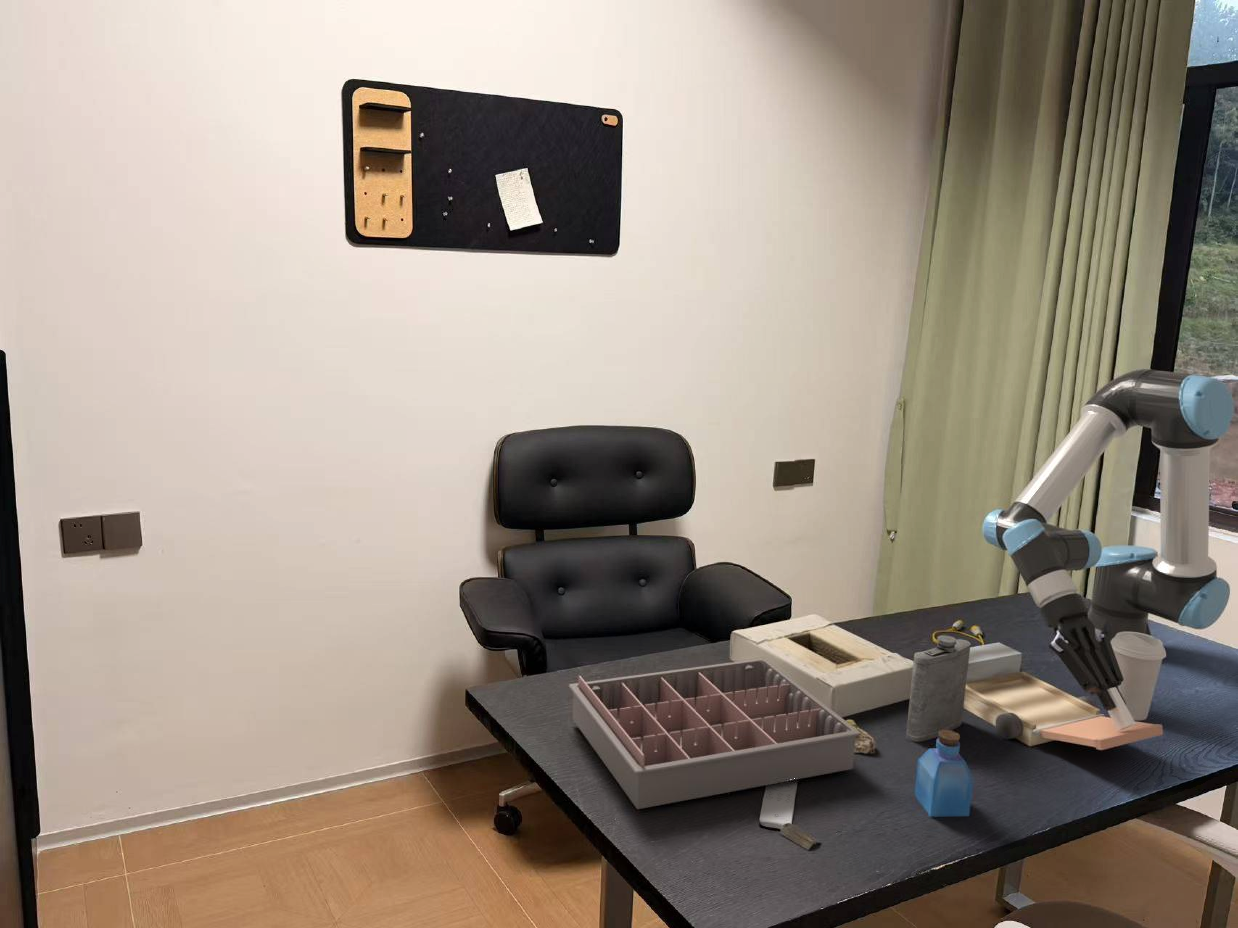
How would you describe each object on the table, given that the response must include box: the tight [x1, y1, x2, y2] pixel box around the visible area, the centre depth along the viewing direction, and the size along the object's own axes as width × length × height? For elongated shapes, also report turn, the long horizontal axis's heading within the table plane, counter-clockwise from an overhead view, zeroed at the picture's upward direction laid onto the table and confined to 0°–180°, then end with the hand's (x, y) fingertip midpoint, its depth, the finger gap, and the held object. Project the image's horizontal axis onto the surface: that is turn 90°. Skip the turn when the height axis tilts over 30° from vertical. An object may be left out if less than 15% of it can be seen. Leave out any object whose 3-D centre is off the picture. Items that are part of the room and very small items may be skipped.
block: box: [779, 822, 822, 852], centre depth 143 cm, size 4×6×2 cm, turn 40°
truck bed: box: [963, 642, 1101, 747], centre depth 186 cm, size 24×21×8 cm
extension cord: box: [932, 620, 986, 646], centre depth 221 cm, size 12×16×2 cm
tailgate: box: [1032, 713, 1164, 751], centre depth 169 cm, size 2×17×13 cm
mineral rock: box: [845, 719, 877, 755], centre depth 172 cm, size 11×4×8 cm
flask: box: [905, 635, 972, 743], centre depth 175 cm, size 4×14×18 cm, turn 126°
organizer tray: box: [568, 658, 862, 810], centre depth 166 cm, size 32×40×10 cm
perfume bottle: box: [914, 730, 974, 818], centre depth 151 cm, size 6×6×12 cm
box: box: [729, 613, 914, 718], centre depth 198 cm, size 23×8×32 cm
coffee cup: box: [1111, 632, 1167, 722], centre depth 185 cm, size 10×10×15 cm
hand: (1126, 727), depth 164 cm, fingers closed
